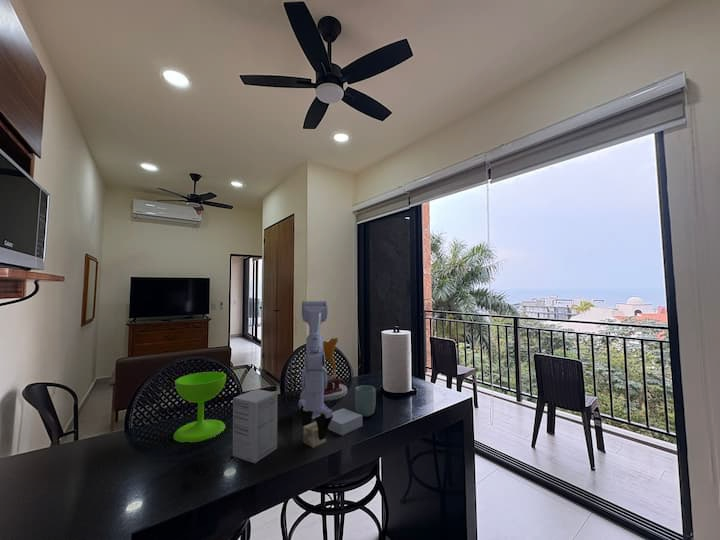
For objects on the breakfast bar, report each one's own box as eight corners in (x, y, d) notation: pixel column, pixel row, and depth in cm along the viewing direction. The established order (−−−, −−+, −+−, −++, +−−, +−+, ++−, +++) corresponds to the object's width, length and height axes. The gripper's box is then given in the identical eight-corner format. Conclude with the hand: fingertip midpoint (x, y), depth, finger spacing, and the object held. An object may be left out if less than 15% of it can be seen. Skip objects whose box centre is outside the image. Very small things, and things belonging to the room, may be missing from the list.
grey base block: (322, 427, 111) (322, 416, 111) (343, 419, 118) (343, 408, 118) (341, 436, 104) (341, 424, 104) (362, 426, 111) (362, 415, 112)
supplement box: (256, 442, 100) (256, 388, 101) (278, 448, 96) (278, 392, 97) (231, 456, 92) (232, 397, 93) (254, 464, 87) (255, 402, 88)
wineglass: (204, 444, 98) (206, 386, 100) (161, 440, 102) (163, 383, 103) (234, 423, 114) (235, 372, 115) (196, 420, 117) (197, 371, 118)
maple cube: (303, 442, 100) (303, 426, 100) (315, 437, 103) (315, 421, 103) (313, 448, 96) (313, 431, 96) (325, 442, 100) (325, 426, 100)
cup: (367, 420, 116) (367, 392, 116) (351, 415, 120) (351, 388, 121) (379, 413, 122) (379, 387, 123) (363, 409, 127) (363, 384, 127)
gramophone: (331, 384, 161) (331, 334, 163) (356, 394, 146) (355, 339, 147) (295, 392, 148) (295, 339, 150) (318, 404, 132) (318, 344, 134)
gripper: (291, 389, 103) (290, 432, 102) (319, 399, 93) (319, 447, 92) (308, 384, 108) (308, 425, 107) (337, 393, 98) (337, 438, 97)
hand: (314, 434), depth 100 cm, fingers open, 7 cm apart
